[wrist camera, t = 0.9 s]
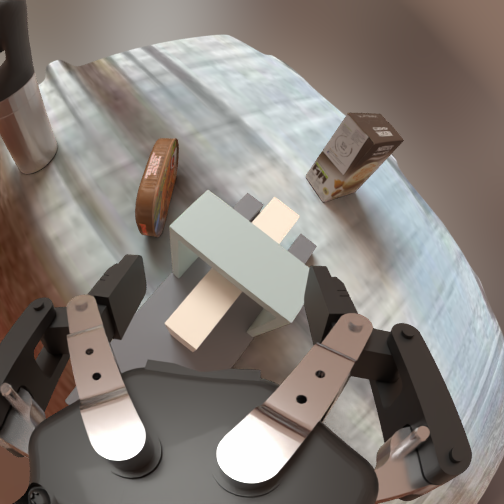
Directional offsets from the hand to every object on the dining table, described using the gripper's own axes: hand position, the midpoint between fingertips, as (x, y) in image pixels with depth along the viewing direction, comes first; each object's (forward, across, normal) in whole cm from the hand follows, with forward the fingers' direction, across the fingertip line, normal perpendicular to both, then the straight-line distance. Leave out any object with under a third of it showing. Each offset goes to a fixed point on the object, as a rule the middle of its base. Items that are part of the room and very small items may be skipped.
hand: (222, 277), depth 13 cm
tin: (+27, +12, +5) cm, 30 cm away
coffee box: (+38, -16, +3) cm, 42 cm away
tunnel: (+17, +1, +13) cm, 22 cm away
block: (+17, +1, +13) cm, 22 cm away
